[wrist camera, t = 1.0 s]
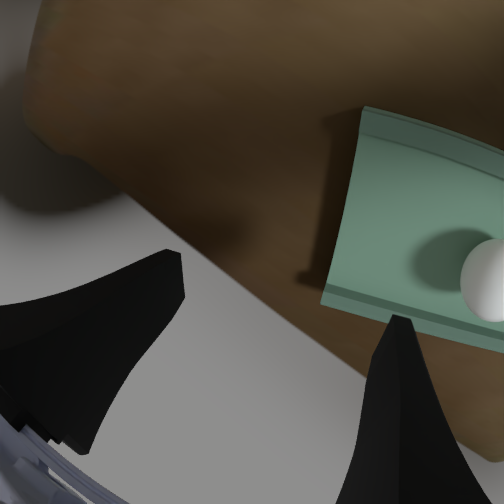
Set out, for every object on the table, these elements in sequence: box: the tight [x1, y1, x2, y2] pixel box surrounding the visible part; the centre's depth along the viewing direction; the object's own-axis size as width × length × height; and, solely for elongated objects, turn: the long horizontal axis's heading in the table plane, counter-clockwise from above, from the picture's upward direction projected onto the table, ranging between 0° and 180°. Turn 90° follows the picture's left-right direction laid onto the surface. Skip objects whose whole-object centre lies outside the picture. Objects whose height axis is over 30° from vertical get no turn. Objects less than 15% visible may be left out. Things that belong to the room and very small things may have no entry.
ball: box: [460, 239, 504, 322], centre depth 12 cm, size 4×4×4 cm
